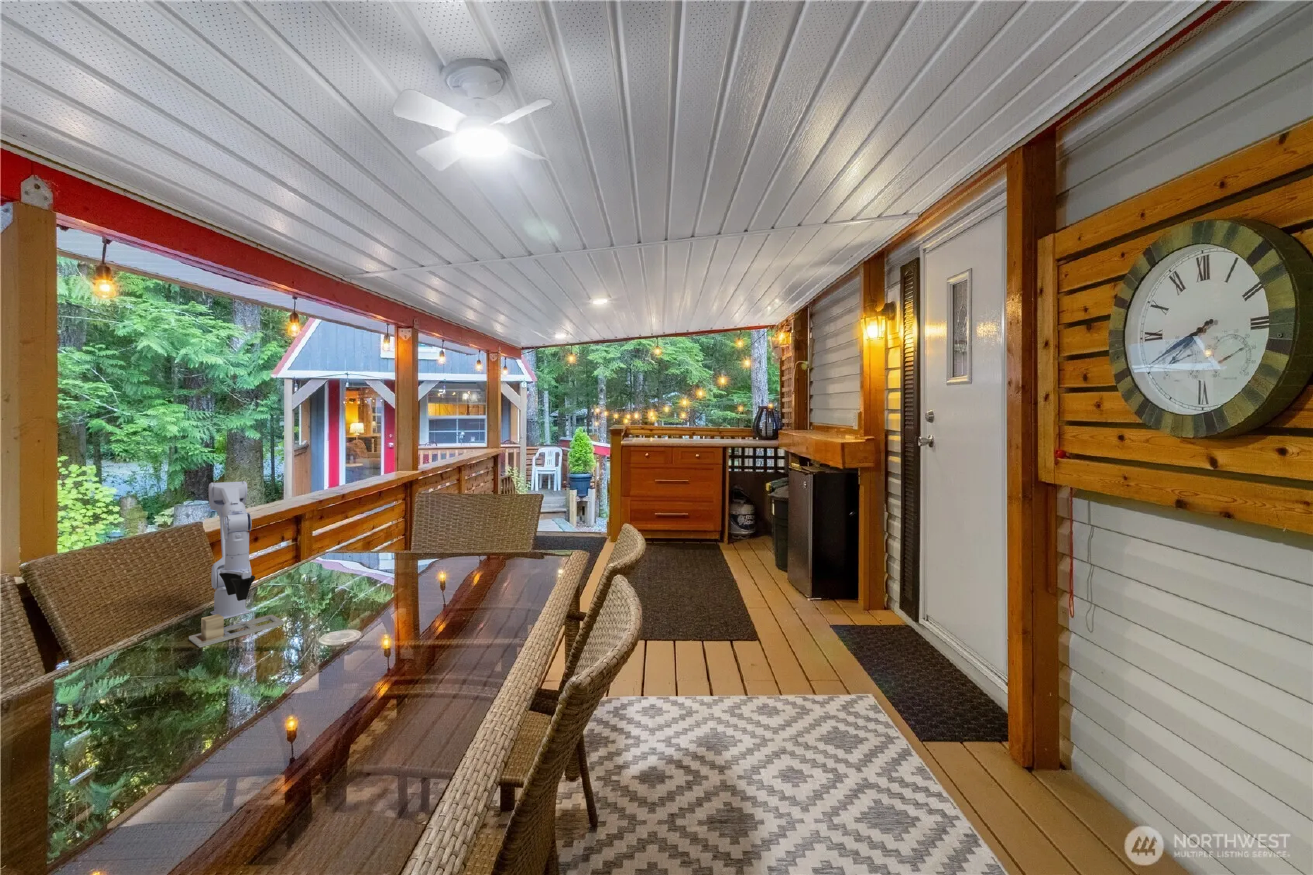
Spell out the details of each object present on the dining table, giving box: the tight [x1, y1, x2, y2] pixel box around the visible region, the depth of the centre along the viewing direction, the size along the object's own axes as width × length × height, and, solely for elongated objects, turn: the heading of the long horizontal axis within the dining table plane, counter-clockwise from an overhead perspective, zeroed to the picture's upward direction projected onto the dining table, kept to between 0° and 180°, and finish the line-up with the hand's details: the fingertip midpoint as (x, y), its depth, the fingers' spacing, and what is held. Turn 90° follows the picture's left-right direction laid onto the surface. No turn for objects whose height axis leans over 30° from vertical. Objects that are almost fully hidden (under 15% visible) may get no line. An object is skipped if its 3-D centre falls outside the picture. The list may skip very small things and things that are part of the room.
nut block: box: [200, 614, 225, 641], centre depth 150 cm, size 4×4×6 cm
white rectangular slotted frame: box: [188, 614, 285, 648], centre depth 155 cm, size 8×20×1 cm, turn 147°
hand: (237, 597), depth 158 cm, fingers open, 7 cm apart
